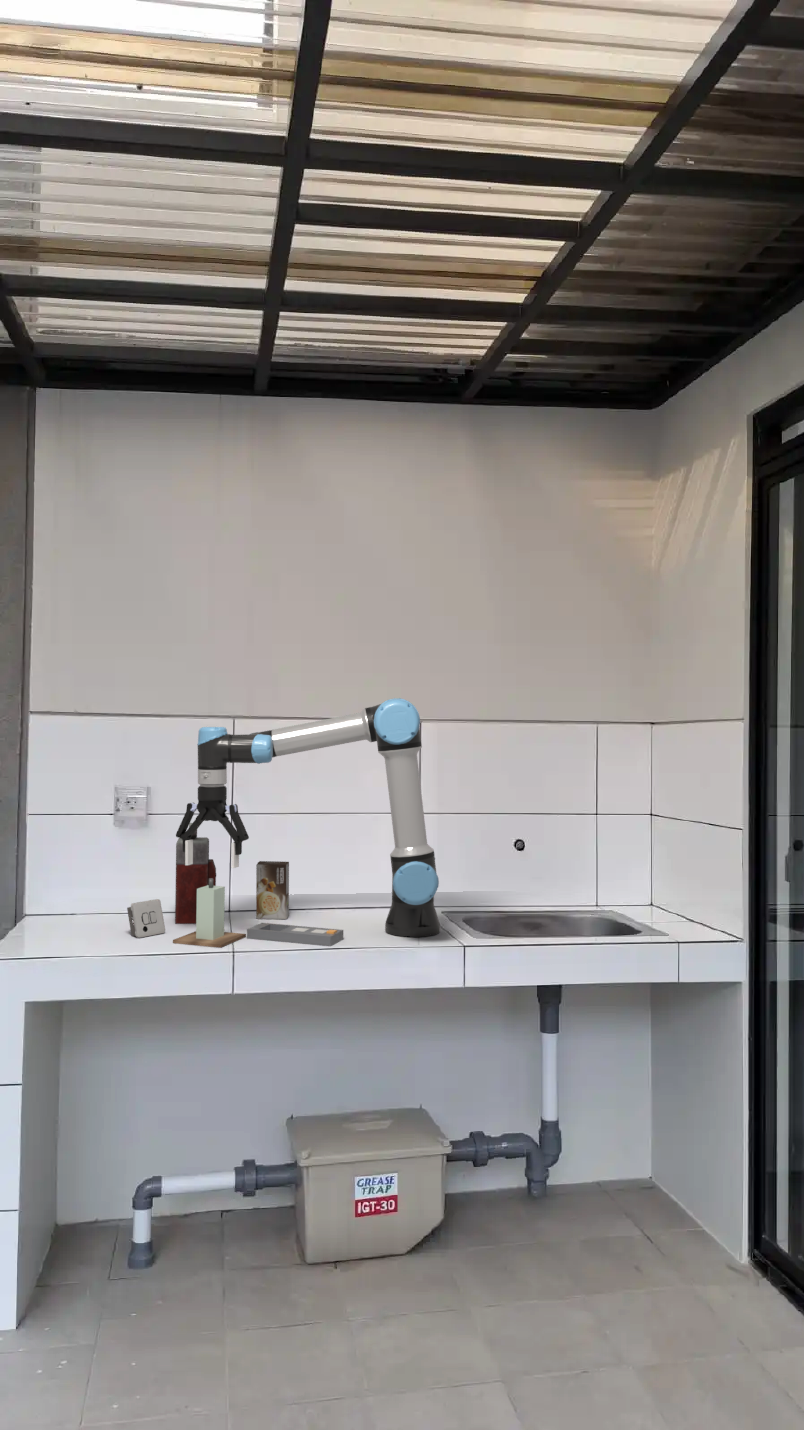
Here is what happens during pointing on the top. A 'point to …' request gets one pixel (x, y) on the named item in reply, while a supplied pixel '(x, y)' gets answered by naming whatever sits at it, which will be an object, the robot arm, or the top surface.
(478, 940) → the top surface
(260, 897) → the coffee box
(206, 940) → the walnut pad
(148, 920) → the electrical switch
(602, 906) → the top surface
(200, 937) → the pale green block
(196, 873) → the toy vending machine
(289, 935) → the power strip
